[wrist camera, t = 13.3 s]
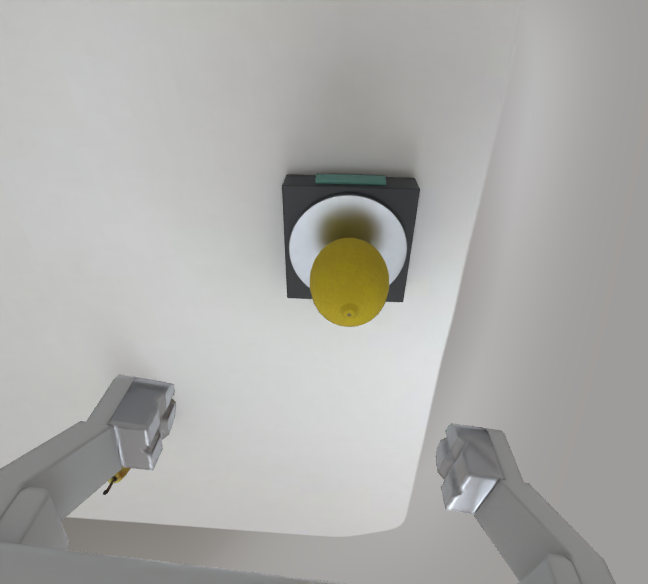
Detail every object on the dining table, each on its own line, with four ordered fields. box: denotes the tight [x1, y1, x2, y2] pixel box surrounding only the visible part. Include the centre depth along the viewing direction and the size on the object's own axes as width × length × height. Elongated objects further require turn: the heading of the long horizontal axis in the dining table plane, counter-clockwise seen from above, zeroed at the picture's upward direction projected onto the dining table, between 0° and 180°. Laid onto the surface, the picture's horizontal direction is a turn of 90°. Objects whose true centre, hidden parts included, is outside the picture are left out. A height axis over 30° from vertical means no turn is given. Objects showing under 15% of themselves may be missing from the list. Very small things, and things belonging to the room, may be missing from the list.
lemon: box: [310, 238, 389, 327], centre depth 28 cm, size 6×6×8 cm
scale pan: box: [289, 193, 407, 288], centre depth 31 cm, size 9×9×1 cm
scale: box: [282, 174, 420, 302], centre depth 33 cm, size 10×10×3 cm
